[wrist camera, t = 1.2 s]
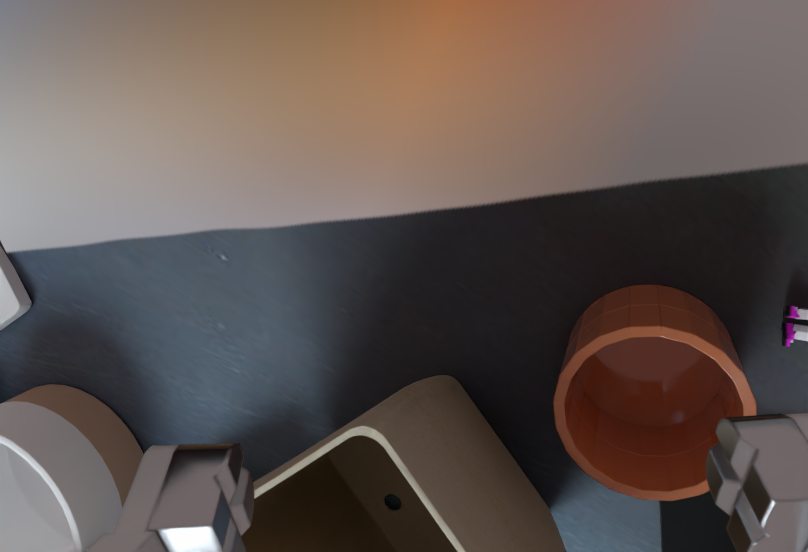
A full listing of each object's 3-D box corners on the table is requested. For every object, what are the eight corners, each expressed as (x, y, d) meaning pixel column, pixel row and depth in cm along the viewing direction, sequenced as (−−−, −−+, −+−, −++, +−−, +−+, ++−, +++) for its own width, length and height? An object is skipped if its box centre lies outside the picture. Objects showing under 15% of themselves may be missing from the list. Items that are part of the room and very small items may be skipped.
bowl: (-20, 447, 64) (-108, 494, 57) (59, 346, 57) (-30, 384, 49) (94, 578, 64) (21, 644, 56) (188, 493, 57) (118, 555, 49)
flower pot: (461, 306, 44) (367, 419, 28) (625, 532, 44) (619, 766, 29) (274, 428, 52) (121, 569, 36) (415, 620, 52) (322, 840, 37)
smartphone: (790, 442, 38) (791, 657, 41) (786, 432, 39) (787, 643, 42) (655, 437, 41) (666, 640, 44) (655, 428, 42) (665, 627, 45)
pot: (660, 252, 39) (666, 287, 32) (771, 374, 39) (802, 439, 31) (536, 345, 43) (516, 395, 36) (636, 456, 43) (636, 531, 35)
